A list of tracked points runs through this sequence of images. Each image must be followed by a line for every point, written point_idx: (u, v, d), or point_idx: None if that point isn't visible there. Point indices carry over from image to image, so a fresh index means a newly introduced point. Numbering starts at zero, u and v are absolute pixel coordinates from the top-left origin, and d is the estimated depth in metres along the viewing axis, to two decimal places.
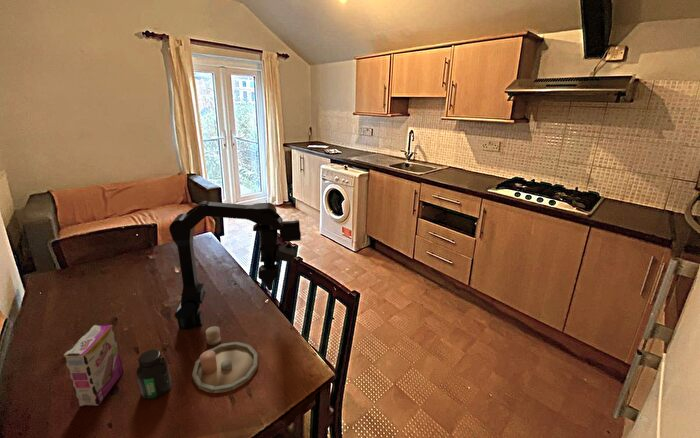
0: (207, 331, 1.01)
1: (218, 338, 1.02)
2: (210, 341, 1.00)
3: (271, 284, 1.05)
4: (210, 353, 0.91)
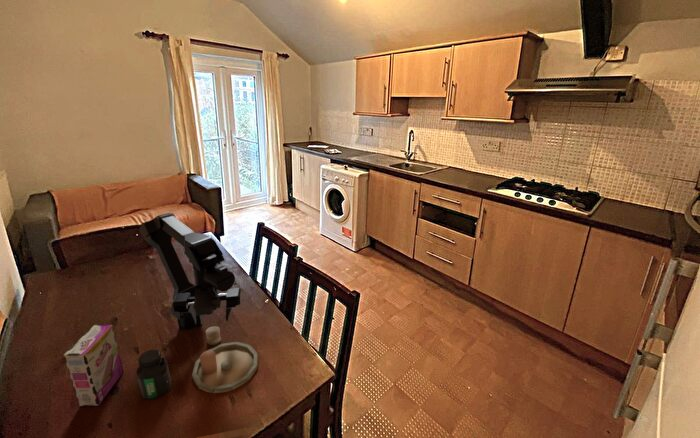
0: (207, 331, 1.01)
1: (218, 338, 1.02)
2: (210, 341, 1.00)
3: None
4: (210, 353, 0.91)
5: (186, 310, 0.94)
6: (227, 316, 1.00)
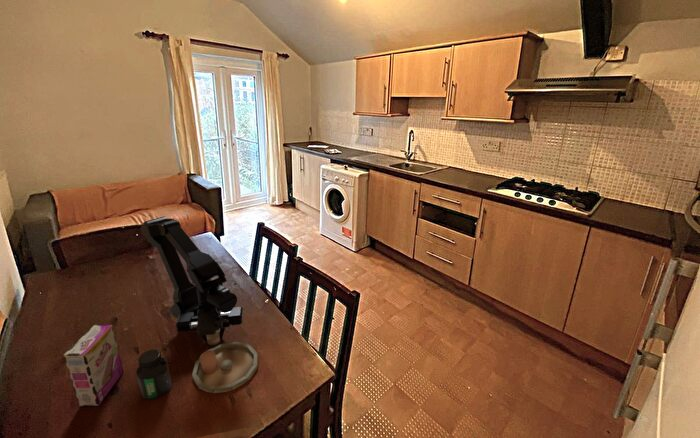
0: None
1: (218, 338, 1.02)
2: (210, 341, 1.00)
3: None
4: (210, 353, 0.91)
5: None
6: (221, 335, 1.02)
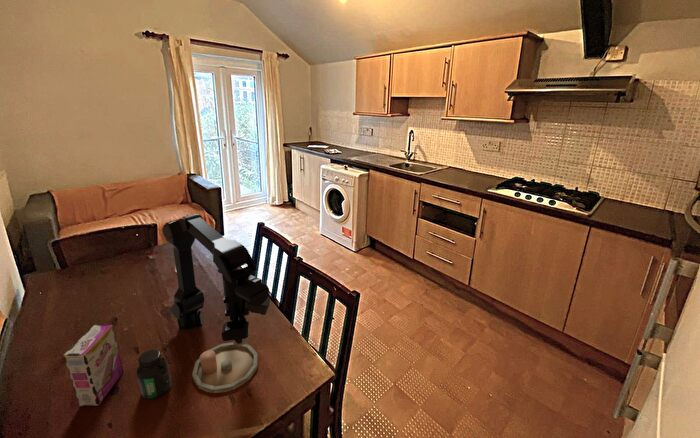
0: None
1: None
2: None
3: None
4: (210, 353, 0.91)
5: None
6: None
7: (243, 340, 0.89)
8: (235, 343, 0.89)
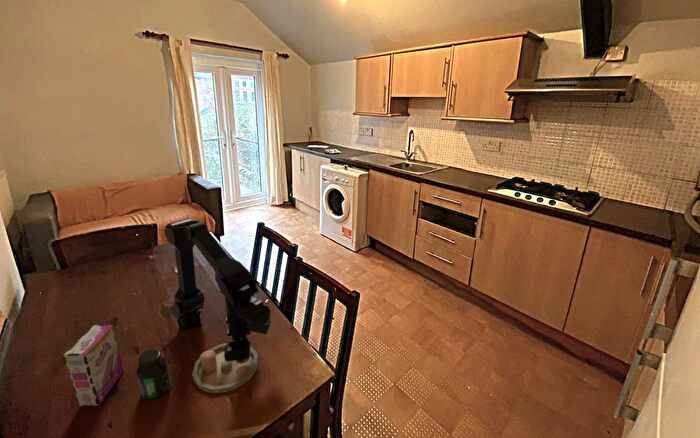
0: None
1: None
2: None
3: None
4: (210, 353, 0.91)
5: None
6: None
7: None
8: (237, 361, 0.92)
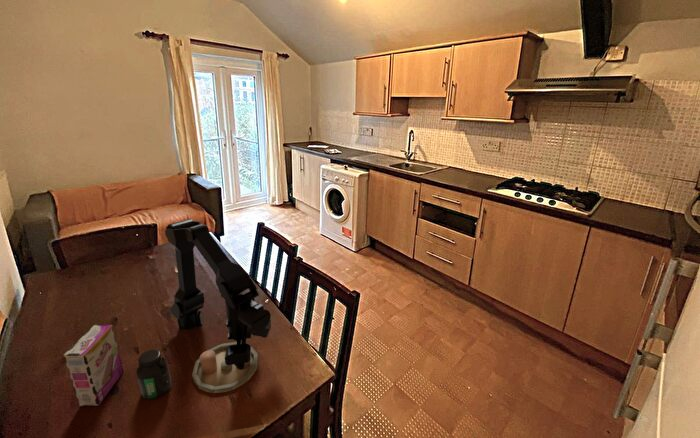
0: None
1: None
2: None
3: (242, 363, 0.88)
4: (210, 353, 0.91)
5: None
6: None
7: (245, 364, 0.92)
8: None
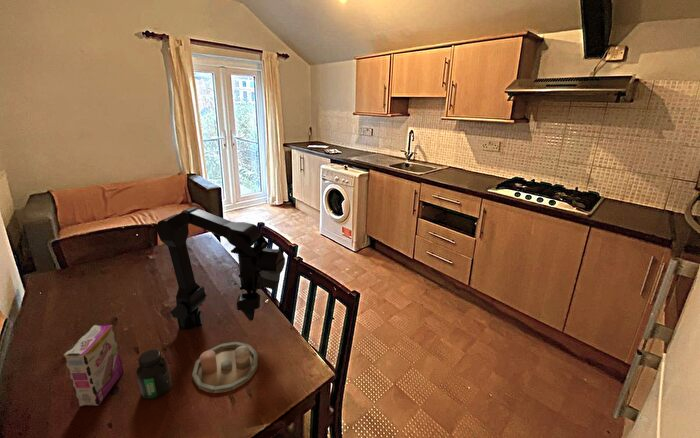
0: (242, 354, 0.91)
1: None
2: (249, 357, 0.93)
3: (252, 314, 0.94)
4: (210, 353, 0.91)
5: None
6: None
7: (245, 364, 0.92)
8: (238, 367, 0.92)
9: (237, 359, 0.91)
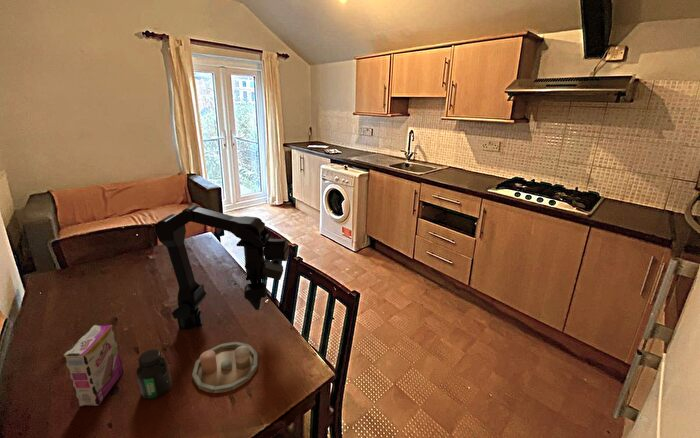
0: (242, 354, 0.91)
1: None
2: (249, 357, 0.93)
3: (258, 303, 0.99)
4: (210, 353, 0.91)
5: None
6: None
7: (245, 364, 0.92)
8: (238, 367, 0.92)
9: (237, 359, 0.91)
